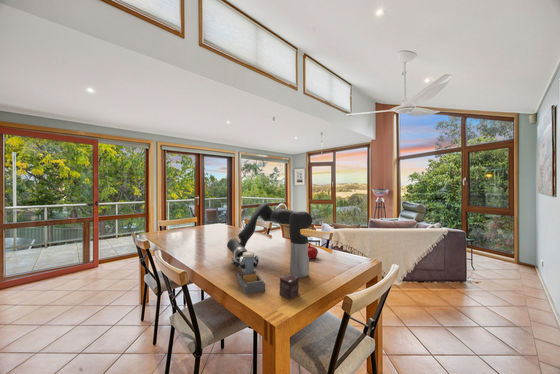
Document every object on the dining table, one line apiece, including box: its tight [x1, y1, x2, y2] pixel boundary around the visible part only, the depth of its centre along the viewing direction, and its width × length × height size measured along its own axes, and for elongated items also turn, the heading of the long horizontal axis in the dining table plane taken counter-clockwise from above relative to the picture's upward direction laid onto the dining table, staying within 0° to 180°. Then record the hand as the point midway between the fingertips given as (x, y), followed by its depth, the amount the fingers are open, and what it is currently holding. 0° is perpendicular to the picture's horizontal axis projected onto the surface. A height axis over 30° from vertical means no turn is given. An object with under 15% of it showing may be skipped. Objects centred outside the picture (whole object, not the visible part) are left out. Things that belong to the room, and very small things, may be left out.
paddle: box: [242, 273, 258, 284], centre depth 106 cm, size 7×1×4 cm, turn 113°
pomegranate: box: [308, 243, 319, 260], centre depth 147 cm, size 10×10×9 cm
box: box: [279, 273, 300, 300], centre depth 97 cm, size 6×6×7 cm
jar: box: [242, 251, 255, 276], centre depth 109 cm, size 6×6×12 cm
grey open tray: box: [237, 270, 266, 295], centre depth 106 cm, size 9×16×4 cm, turn 23°
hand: (249, 266), depth 107 cm, fingers closed on jar, 5 cm apart
